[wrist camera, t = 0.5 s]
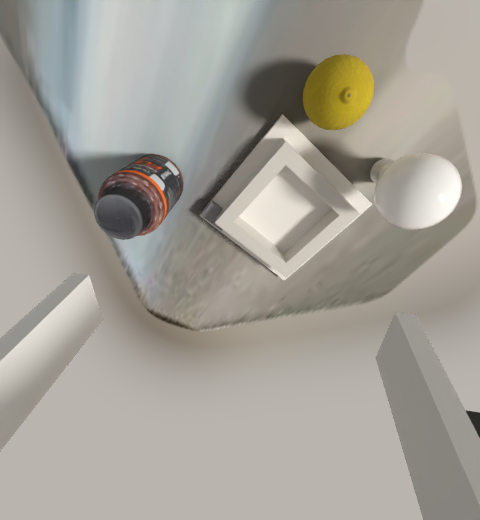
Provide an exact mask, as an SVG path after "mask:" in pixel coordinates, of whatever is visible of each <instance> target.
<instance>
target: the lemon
mask: <svg viewBox="0 0 480 520" xmlns="http://www.w3.org/2000/svg"><path fill="white" fill-rule="evenodd" d="M373 91H374V83H373V76H372V74H371V72H370V69H369V68H368V67H367V65H366V64H365V63H364V62H363V61H361V60H360V59H358V58H357V57H355V56H351V55H346V54H344V55H335V56H332V57H330V58H327V59H325V60H324V61H322V62H321V63H320V64H318V65H317V66H316V67H315V69H314V70H313V71H312V72H311V74H310V75H309V77H308V79H307V81H306V83H305V87H304V90H303V105H304V109H305V112H306V114H307V116H308V117H309V119H310V120H311V121H312V122H313V123H314V124H315V125H317V126H318V127H321V128H323V129H326V130H338V129H343V128H346V127H348V126H350V125H352V124H354V123H355V122H356V121H357V120H359V119H360V118H361V117H362V115H363V114H364V113H365V112H366V110H367V109H368V107H369V105H370V103H371V100H372V97H373Z"/></svg>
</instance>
